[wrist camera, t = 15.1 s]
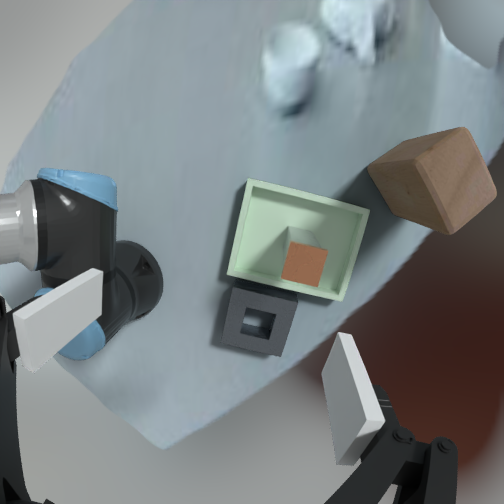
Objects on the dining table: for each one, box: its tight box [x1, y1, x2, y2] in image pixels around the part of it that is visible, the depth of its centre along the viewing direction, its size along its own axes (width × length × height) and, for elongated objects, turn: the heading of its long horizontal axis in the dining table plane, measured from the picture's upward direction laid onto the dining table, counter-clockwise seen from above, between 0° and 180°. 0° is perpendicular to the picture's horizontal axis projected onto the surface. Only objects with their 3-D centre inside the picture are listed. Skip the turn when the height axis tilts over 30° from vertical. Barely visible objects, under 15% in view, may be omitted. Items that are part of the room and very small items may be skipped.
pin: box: [281, 226, 328, 287], centre depth 43 cm, size 5×5×15 cm
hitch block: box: [221, 279, 298, 357], centre depth 53 cm, size 11×11×4 cm
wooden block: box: [367, 127, 497, 235], centre depth 37 cm, size 10×10×20 cm
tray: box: [227, 178, 370, 302], centre depth 49 cm, size 20×16×3 cm
